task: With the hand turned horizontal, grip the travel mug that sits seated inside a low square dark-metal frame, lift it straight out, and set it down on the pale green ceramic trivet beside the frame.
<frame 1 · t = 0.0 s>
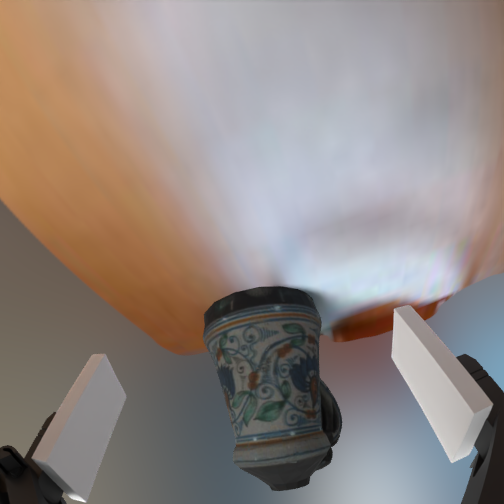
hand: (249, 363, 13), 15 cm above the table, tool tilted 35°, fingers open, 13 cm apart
beer stein: (269, 312, 46), on the table
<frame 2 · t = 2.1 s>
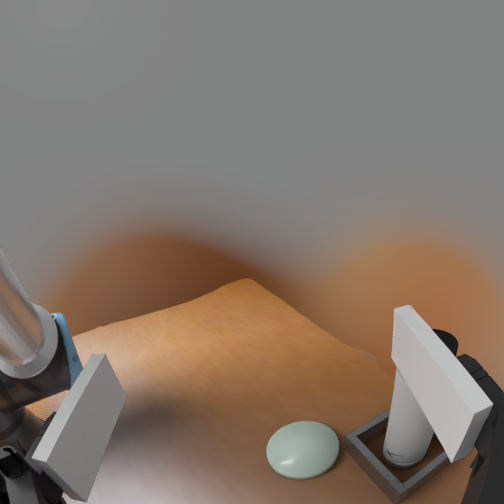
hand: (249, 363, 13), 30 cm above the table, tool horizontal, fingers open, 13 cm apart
square frame: (404, 452, 33), on the table
travel mug: (403, 453, 33), resting in square frame
trivet: (303, 451, 38), on the table
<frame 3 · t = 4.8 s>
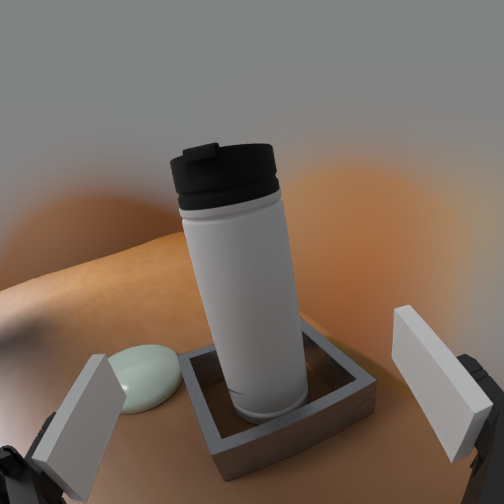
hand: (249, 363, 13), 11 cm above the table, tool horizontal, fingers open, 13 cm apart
square frame: (270, 401, 24), on the table
travel mug: (271, 402, 24), resting in square frame
trivet: (137, 380, 29), on the table
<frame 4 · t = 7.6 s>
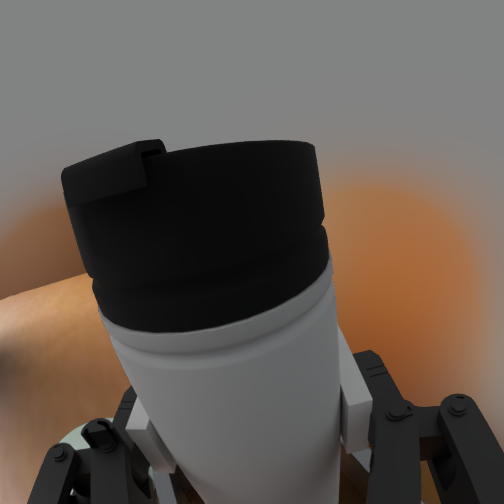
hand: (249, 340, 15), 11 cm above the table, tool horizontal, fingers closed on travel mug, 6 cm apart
trivet: (105, 468, 18), on the table
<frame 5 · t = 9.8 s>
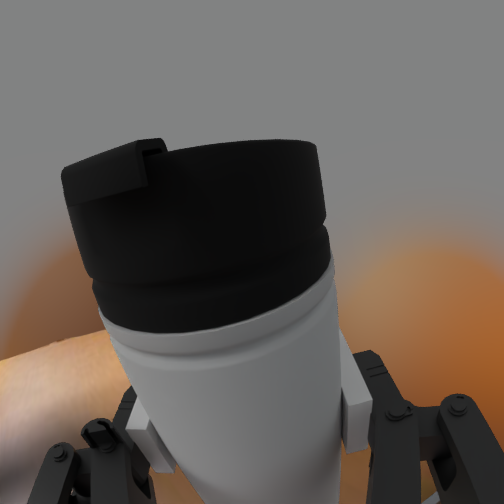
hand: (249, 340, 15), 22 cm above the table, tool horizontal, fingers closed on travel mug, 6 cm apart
when the fingers open (13 cm above the table, at t = 12.1 s): travel mug stays where it is, resting on trivet.
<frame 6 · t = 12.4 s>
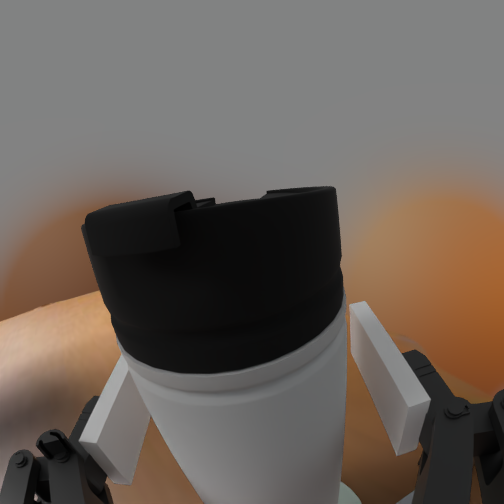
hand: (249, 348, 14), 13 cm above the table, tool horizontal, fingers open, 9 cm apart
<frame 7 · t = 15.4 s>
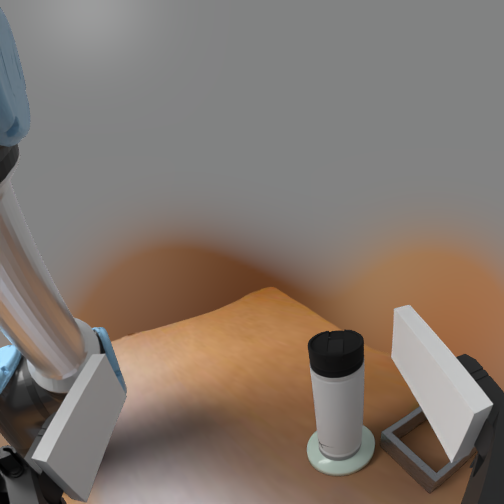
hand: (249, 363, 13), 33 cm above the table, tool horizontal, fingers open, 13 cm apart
square frame: (434, 446, 34), on the table
travel mug: (340, 446, 38), point 1 cm above the table, touching trivet
trivet: (341, 449, 39), on the table
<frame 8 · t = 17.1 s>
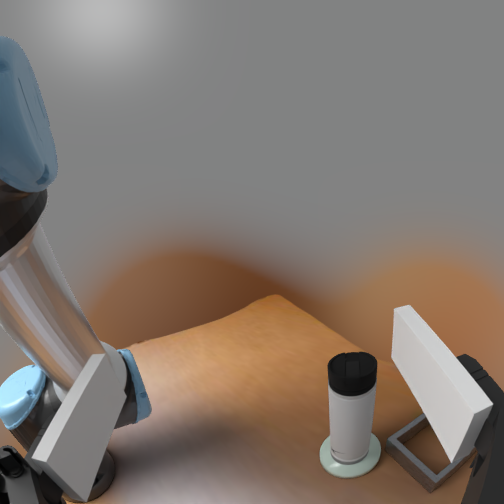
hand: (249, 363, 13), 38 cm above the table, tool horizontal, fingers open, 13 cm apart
square frame: (433, 450, 37), on the table
travel mug: (349, 451, 42), point 1 cm above the table, touching trivet
trivet: (350, 454, 42), on the table
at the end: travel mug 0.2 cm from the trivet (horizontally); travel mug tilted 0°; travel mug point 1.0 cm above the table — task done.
